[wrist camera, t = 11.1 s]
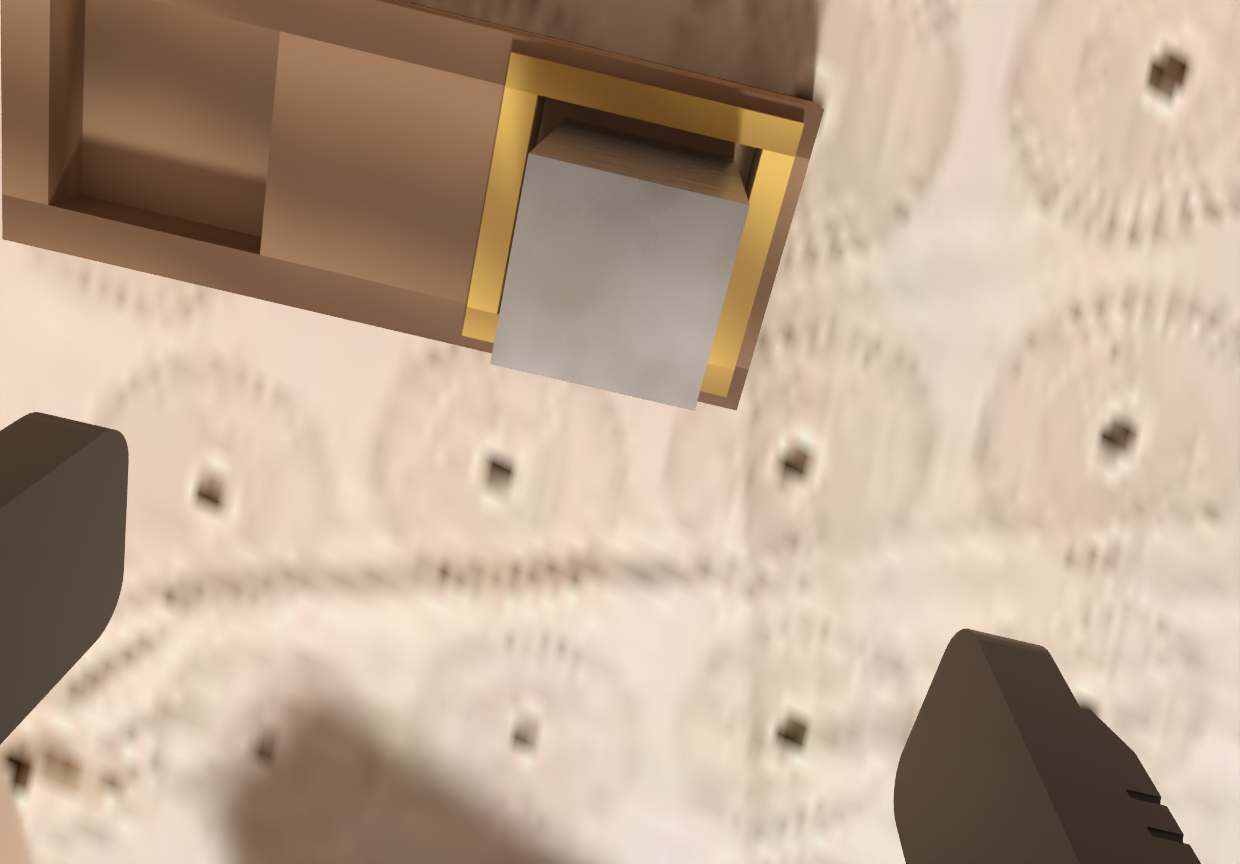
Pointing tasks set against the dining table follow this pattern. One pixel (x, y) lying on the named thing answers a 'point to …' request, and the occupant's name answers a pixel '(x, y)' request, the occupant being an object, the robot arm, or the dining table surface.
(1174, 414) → the dining table surface
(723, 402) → the rail
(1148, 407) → the dining table surface
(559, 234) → the block
